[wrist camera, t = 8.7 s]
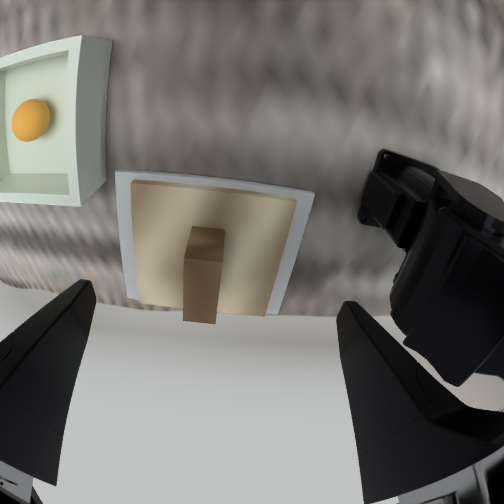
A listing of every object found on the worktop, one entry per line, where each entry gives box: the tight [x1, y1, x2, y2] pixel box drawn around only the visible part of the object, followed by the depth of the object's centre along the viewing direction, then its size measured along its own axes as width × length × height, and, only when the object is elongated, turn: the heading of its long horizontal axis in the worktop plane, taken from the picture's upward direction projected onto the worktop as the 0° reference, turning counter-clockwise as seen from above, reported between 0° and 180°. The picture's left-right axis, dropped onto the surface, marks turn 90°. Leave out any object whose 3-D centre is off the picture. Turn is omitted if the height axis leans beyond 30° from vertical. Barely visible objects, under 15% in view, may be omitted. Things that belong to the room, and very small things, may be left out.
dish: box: [0, 35, 113, 207], centre depth 14 cm, size 11×11×4 cm
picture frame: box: [115, 169, 315, 315], centre depth 24 cm, size 15×13×1 cm
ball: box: [11, 99, 50, 142], centre depth 14 cm, size 3×3×3 cm
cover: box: [130, 179, 297, 324], centre depth 21 cm, size 12×12×5 cm
